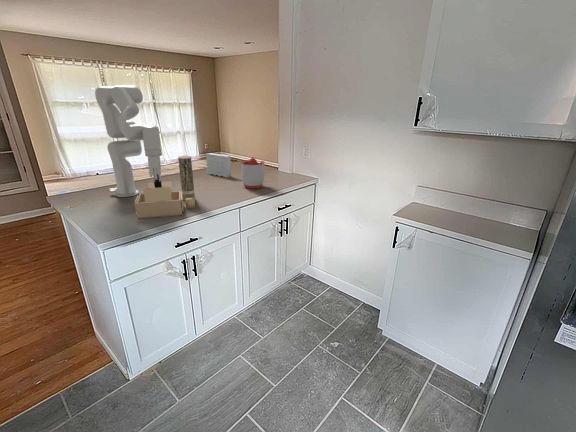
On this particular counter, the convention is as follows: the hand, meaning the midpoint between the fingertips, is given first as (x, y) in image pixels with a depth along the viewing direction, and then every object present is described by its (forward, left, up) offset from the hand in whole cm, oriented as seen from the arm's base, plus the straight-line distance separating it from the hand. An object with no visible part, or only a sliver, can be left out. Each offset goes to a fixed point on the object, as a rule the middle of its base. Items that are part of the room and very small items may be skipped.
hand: (158, 188), depth 149 cm
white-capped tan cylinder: (+14, +3, -12) cm, 19 cm away
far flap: (0, +8, -4) cm, 9 cm away
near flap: (0, -8, -4) cm, 9 cm away
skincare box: (+38, +73, -12) cm, 83 cm away
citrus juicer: (+57, +35, -12) cm, 68 cm away
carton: (0, 0, -12) cm, 12 cm away
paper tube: (+14, +17, -12) cm, 25 cm away
